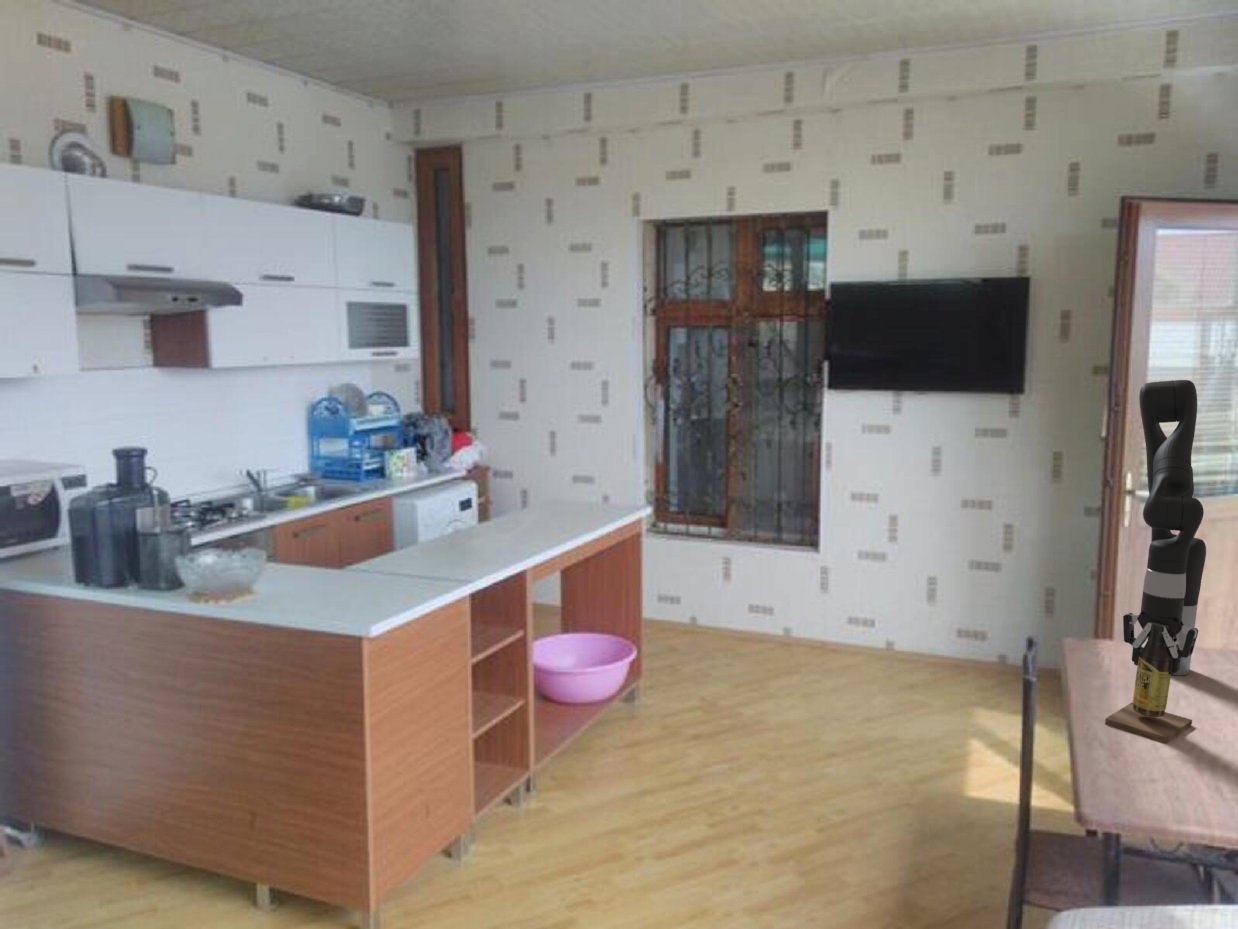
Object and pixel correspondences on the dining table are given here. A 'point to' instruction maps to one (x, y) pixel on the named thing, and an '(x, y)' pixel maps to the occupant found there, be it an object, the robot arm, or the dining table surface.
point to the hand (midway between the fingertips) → (1154, 669)
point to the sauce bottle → (1153, 675)
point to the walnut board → (1149, 724)
